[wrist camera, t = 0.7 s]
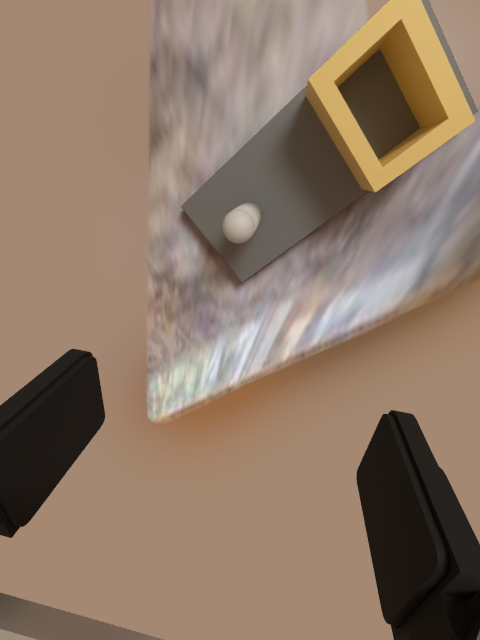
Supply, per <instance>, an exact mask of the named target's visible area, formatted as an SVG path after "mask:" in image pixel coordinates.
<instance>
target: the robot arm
mask: <svg viewBox="0 0 480 640" xmlns="http://www.w3.org/2000/svg"><path fill="white" fill-rule="evenodd" d="M104 419H105V412H104V405H103V400H102V393H101V386H100V380H99V373H98V368H97V361H96V359H95V358H94V357H93V356H92V354H91V353H90V352H87V351H82V350H77V349H71V350H69V351H68V352H66V353H65V354H64V355H63V356H62V357H60V358H59V359H58V360H57V361H55V362H54V363H53V364H52V365H51V366H49V367H48V368H47V369H45V370H44V371H43V372H42V373H40V374H39V375H38V376H37V377H35V378H34V379H33V380H32V381H30V382H29V383H28V384H27V385H26V386H24V387H23V388H22V389H20V390H19V391H18V392H17V393H15V394H14V395H13V396H12V397H10V398H9V399H8V400H7V401H5V402H4V403H3V404H2V405H0V535H2V536H6V537H10V538H12V537H13V535H14V534H15V533H16V532H17V530H18V529H19V527H23V526H25V525H26V524H27V523H28V522H29V521H30V520H31V519H32V517H33V516H34V515H35V513H36V512H37V511H38V509H39V508H40V507H41V505H42V504H43V503H44V502H45V500H46V499H47V498H48V496H49V495H50V494H51V492H52V491H53V490H54V488H55V487H56V486H57V484H58V483H59V482H60V480H61V479H62V478H63V476H64V475H65V474H66V472H67V471H68V470H69V468H70V467H71V466H72V464H73V463H74V462H75V460H76V459H77V458H78V456H79V455H80V454H81V452H82V451H83V450H84V449H85V447H86V446H87V445H88V443H89V442H90V441H91V439H92V438H93V437H94V435H95V434H96V433H97V431H98V430H99V429H100V427H101V426H102V424H103V422H104ZM357 485H358V490H359V495H360V500H361V506H362V510H363V515H364V521H365V526H366V531H367V537H368V542H369V547H370V552H371V557H372V562H373V568H374V573H375V578H376V583H377V588H378V594H379V599H380V604H381V609H382V613H383V617H384V619H385V621H386V622H387V623H388V624H391V628H392V632H393V637H394V640H480V544H479V542H478V540H477V538H476V536H475V534H474V532H473V530H472V528H471V526H470V524H469V522H468V520H467V517H466V515H465V513H464V511H463V509H462V507H461V505H460V504H459V501H458V499H457V497H456V495H455V493H454V491H453V490H452V487H451V485H450V483H449V481H448V478H447V476H446V475H445V473H444V472H443V470H442V469H441V468H440V467H439V466H438V464H437V462H436V460H435V458H434V456H433V454H432V452H431V450H430V448H429V446H428V443H427V441H426V439H425V437H424V435H423V433H422V431H421V429H420V426H419V424H418V422H417V420H416V418H415V417H414V415H412V414H409V413H404V412H399V411H394V410H391V411H390V412H389V413H388V414H383V415H382V417H381V419H380V421H379V424H378V426H377V428H376V430H375V433H374V435H373V437H372V439H371V441H370V443H369V445H368V448H367V450H366V452H365V454H364V456H363V459H362V461H361V463H360V466H359V468H358V470H357ZM0 640H163V639H160V638H156V637H153V636H149V635H146V634H143V633H139V632H136V631H132V630H129V629H125V628H122V627H118V626H115V625H111V624H108V623H105V622H101V621H98V620H94V619H90V618H87V617H84V616H80V615H77V614H73V613H70V612H66V611H62V610H59V609H56V608H52V607H49V606H45V605H42V604H38V603H35V602H31V601H28V600H24V599H20V598H17V597H14V596H10V595H6V594H3V593H0Z"/></svg>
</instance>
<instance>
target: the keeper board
mask: <svg viewBox="0 0 480 640" xmlns="http://www.w3.org/2000/svg"><path fill="white" fill-rule="evenodd" d="M421 1H422V3H423V5H424V8H425V10H426V12H427V14H428V17H429V19H430V21H431V23H432V25H433V28H434V30H435V32H436V34H437V36H438V39H439V41H440V43H441V45H442V48H443V50H444V52H445V54H446V56H447V59H448V61H449V63H450V65H451V67H452V70H453V72H454V74H455V76H456V79H457V81H458V83H459V85H460V87H461V90H462V92H463V94H464V96H465V98H466V101H467V103H468V105H469V107H470V110H471V112H472V114H473V115H474V114H475V113H476V112H478V110H477V108H476V106H475V104H474V101H473V99H472V97H471V95H470V92H469V90H468V88H467V86H466V83H465V81H464V79H463V77H462V74H461V72H460V70H459V68H458V65H457V63H456V61H455V59H454V56H453V54H452V52H451V50H450V47H449V45H448V43H447V41H446V38H445V36H444V34H443V32H442V29H441V27H440V25H439V23H438V20H437V18H436V16H435V14H434V12H433V9H432V7H431V5H430V2H429V0H421ZM337 88H338V90H339V91H340V93H341V95H342V97H343V99H344V100H345V102H346V104H347V106H348V107H349V109H350V111H351V113H352V114H353V116H354V118H355V120H356V121H357V123H358V125H359V127H360V128H361V130H362V132H363V134H364V135H365V137H366V139H367V141H368V143H369V144H370V146H371V148H372V150H373V151H374V153H375V155H376V157H377V158H378V159H380V158H381V157H382V156H384V155H385V154H386V153H388V152H389V151H390V150H392V149H393V148H394V147H396V146H397V145H398V144H400V143H401V142H402V141H404V140H405V139H406V138H407V137H409V136H410V135H411V134H413V133H414V132H415V131H417V130H418V129H419V128H420V126H419V124H418V123H417V121H416V119H415V117H414V115H413V113H412V111H411V109H410V107H409V105H408V103H407V101H406V99H405V97H404V95H403V93H402V91H401V89H400V87H399V85H398V83H397V81H396V79H395V77H394V75H393V73H392V71H391V69H390V68H389V66H388V64H387V62H386V60H385V58H384V56H383V54H382V52H381V50H380V49H379V50H378V51H377V52H376V53H375V54H374V55H372V56H371V57H370V58H369V59H368V60H367V61H366V62H365V63H364V64H363V65H362V66H360V67H359V68H358V69H357V70H356V71H355V72H354V73H353V74H352V75H351V76H349V77H348V78H347V79H346V80H345V81H344V82H343V83H342V84H341V85H340V86H339V87H337ZM306 90H307V86H306V87H305V88H304V89H303V90H302V91H301V92H300V93H298V94H297V95H296V96H295V97H294V98H293V99H292V100H291V101H290V102H289V103H288V104H287V105H286V106H285V107H284V108H283V109H282V110H281V111H280V112H279V113H278V114H277V115H276V116H275V117H273V118H272V119H271V120H270V121H269V122H268V123H267V124H266V125H265V126H264V127H263V128H262V129H261V130H260V131H259V132H258V133H257V134H256V135H255V136H254V137H253V138H252V139H251V140H250V141H248V142H247V143H246V144H245V145H244V146H243V147H242V148H241V149H240V150H239V151H238V152H237V153H236V154H235V155H234V156H233V157H232V158H231V159H230V160H229V161H228V162H227V163H226V164H225V165H223V166H222V167H221V168H220V169H219V170H218V171H217V172H216V173H215V174H214V175H213V176H212V177H211V178H210V179H209V180H208V181H207V182H206V183H205V184H204V185H203V186H202V187H201V188H200V189H198V190H197V191H196V192H195V193H194V194H193V195H192V196H191V197H190V198H189V199H188V200H187V201H186V202H185V203H184V204H183V205H182V206H181V207H182V209H183V210H184V211H185V212H186V214H187V215H188V216H189V217H190V219H191V220H192V221H193V222H194V224H195V225H196V226H197V227H198V229H199V230H200V231H201V232H202V234H203V235H204V236H205V237H206V238H207V240H208V241H209V242H210V243H211V245H212V246H213V247H214V248H215V250H216V251H217V252H218V253H219V255H220V256H221V257H222V258H223V260H224V261H225V262H226V263H227V265H228V266H229V267H230V268H231V269H232V271H233V272H234V273H235V274H236V276H237V277H238V278H239V279H240V281H241V282H243V281H245V280H246V279H247V278H249V277H250V276H252V275H253V274H254V273H256V272H257V271H258V270H260V269H261V268H263V267H264V266H265V265H267V264H268V263H269V262H271V261H272V260H274V259H275V258H276V257H278V256H279V255H281V254H282V253H283V252H285V251H286V250H287V249H289V248H290V247H292V246H293V245H294V244H296V243H297V242H298V241H300V240H301V239H303V238H304V237H305V236H307V235H308V234H310V233H311V232H312V231H314V230H315V229H316V228H318V227H319V226H321V225H322V224H323V223H325V222H326V221H327V220H329V219H330V218H332V217H333V216H334V215H336V214H337V213H338V212H340V211H341V210H343V209H344V208H345V207H347V206H348V205H350V204H351V203H352V202H354V201H355V200H356V199H358V198H359V197H361V196H362V195H363V194H365V193H366V192H367V191H368V190H364V189H361V187H360V185H359V184H358V182H357V180H356V179H355V177H354V175H353V174H352V172H351V170H350V169H349V167H348V165H347V164H346V162H345V160H344V159H343V157H342V155H341V154H340V152H339V150H338V149H337V147H336V145H335V144H334V142H333V140H332V139H331V137H330V135H329V134H328V132H327V130H326V129H325V127H324V125H323V124H322V122H321V121H320V119H319V117H318V116H317V114H316V112H315V111H314V109H313V107H312V106H311V104H310V102H309V101H308V99H307V97H306Z"/></svg>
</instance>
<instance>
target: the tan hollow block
mask: <svg viewBox="0 0 480 640" xmlns="http://www.w3.org/2000/svg"><path fill="white" fill-rule="evenodd" d="M379 49H380V50H381V52H382V54H383V56H384V58H385V60H386V62H387V64H388V66H389V68H390V69H391V71H392V73H393V75H394V77H395V79H396V81H397V83H398V85H399V87H400V89H401V91H402V93H403V95H404V97H405V99H406V101H407V103H408V105H409V107H410V109H411V111H412V113H413V115H414V117H415V119H416V121H417V123H418V124H419V126H420V128H419V129H418V130H417V131H415V132H414V133H413V134H411V135H410V136H409V137H407V138H406V139H405V140H404V141H402V142H401V143H400V144H398V145H397V146H396V147H394V148H393V149H392V150H390V151H389V152H388V153H386V154H385V155H384V156H382V157H381V158H380V159H378V158H377V157H376V155H375V153H374V151H373V150H372V148H371V146H370V144H369V143H368V141H367V139H366V137H365V135H364V134H363V132H362V130H361V128H360V127H359V125H358V123H357V121H356V120H355V118H354V116H353V114H352V113H351V111H350V109H349V107H348V106H347V104H346V102H345V100H344V99H343V97H342V95H341V93H340V91H339V90H338V88H337V87H339V86H340V85H341V84H342V83H343V82H344V81H345V80H346V79H347V78H348V77H349V76H351V75H352V74H353V73H354V72H355V71H356V70H357V69H358V68H359V67H360V66H362V65H363V64H364V63H365V62H366V61H367V60H368V59H369V58H370V57H371V56H372V55H374V54H375V53H376V52H377V51H378V50H379ZM306 97H307V99H308V101H309V102H310V104H311V106H312V107H313V109H314V111H315V112H316V114H317V116H318V117H319V119H320V121H321V122H322V124H323V125H324V127H325V129H326V130H327V132H328V134H329V135H330V137H331V139H332V140H333V142H334V144H335V145H336V147H337V149H338V150H339V152H340V154H341V155H342V157H343V159H344V160H345V162H346V164H347V165H348V167H349V169H350V170H351V172H352V174H353V175H354V177H355V179H356V180H357V182H358V184H359V185H360V187H361V189H364V190H368V191H371V192H377V191H378V190H380V189H381V188H382V187H384V186H385V185H387V184H388V183H389V182H391V181H392V180H394V179H395V178H396V177H398V176H399V175H401V174H402V173H403V172H405V171H406V170H408V169H409V168H410V167H412V166H413V165H415V164H416V163H417V162H419V161H420V160H422V159H423V158H424V157H426V156H427V155H429V154H430V153H431V152H433V151H434V150H436V149H437V148H438V147H440V146H441V145H443V144H444V143H445V142H447V141H448V140H450V139H451V138H452V137H454V136H455V135H457V134H458V133H459V132H461V131H462V130H464V129H465V128H466V127H468V126H469V125H471V124H472V123H473V122H475V118H474V116H473V114H472V112H471V110H470V107H469V105H468V103H467V101H466V98H465V96H464V94H463V92H462V90H461V87H460V85H459V83H458V81H457V79H456V76H455V74H454V72H453V70H452V67H451V65H450V63H449V61H448V59H447V56H446V54H445V52H444V50H443V48H442V45H441V43H440V41H439V39H438V36H437V34H436V32H435V30H434V28H433V25H432V23H431V21H430V19H429V17H428V14H427V12H426V10H425V8H424V5H423V3H422V1H421V0H390V1H389V2H388V3H387V4H386V5H385V6H383V7H382V8H381V9H380V10H379V11H378V12H377V13H376V14H375V15H374V16H373V17H372V18H371V19H370V20H369V21H368V22H367V23H366V24H365V25H364V26H363V27H362V28H361V29H360V30H359V31H358V32H357V33H356V34H355V35H354V36H352V37H351V38H350V39H349V40H348V41H347V42H346V43H345V44H344V45H343V46H342V47H341V48H340V49H339V50H338V51H337V52H336V53H335V54H334V55H333V56H332V57H331V58H330V59H329V60H328V61H327V62H326V63H325V64H324V65H323V66H321V67H320V68H319V69H318V70H317V71H316V72H315V73H314V74H313V75H312V76H311V77H310V78H309V79H308V84H307V90H306Z"/></svg>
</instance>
